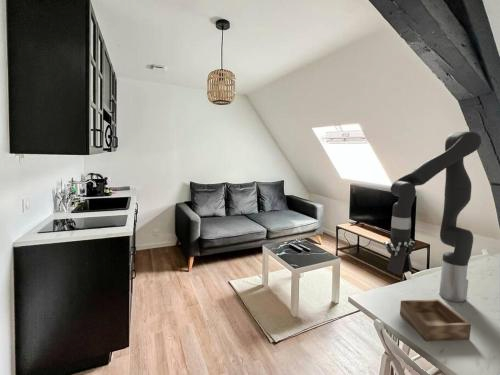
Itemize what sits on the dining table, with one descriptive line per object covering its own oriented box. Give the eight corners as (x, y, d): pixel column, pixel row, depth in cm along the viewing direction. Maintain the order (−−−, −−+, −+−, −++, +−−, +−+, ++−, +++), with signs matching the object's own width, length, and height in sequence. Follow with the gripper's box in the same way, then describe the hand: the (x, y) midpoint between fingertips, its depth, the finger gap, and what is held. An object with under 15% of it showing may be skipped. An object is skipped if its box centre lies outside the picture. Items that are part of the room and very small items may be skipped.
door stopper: (399, 275, 115) (400, 248, 113) (386, 269, 120) (388, 244, 119) (412, 270, 119) (414, 244, 117) (399, 265, 124) (401, 240, 122)
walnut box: (437, 312, 111) (438, 299, 111) (469, 339, 96) (471, 324, 95) (399, 313, 111) (400, 300, 110) (426, 341, 95) (427, 326, 94)
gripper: (411, 223, 121) (409, 259, 123) (380, 224, 121) (379, 260, 123) (422, 228, 114) (419, 266, 116) (390, 229, 113) (388, 267, 116)
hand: (398, 262), depth 120 cm, fingers closed on door stopper, 2 cm apart
